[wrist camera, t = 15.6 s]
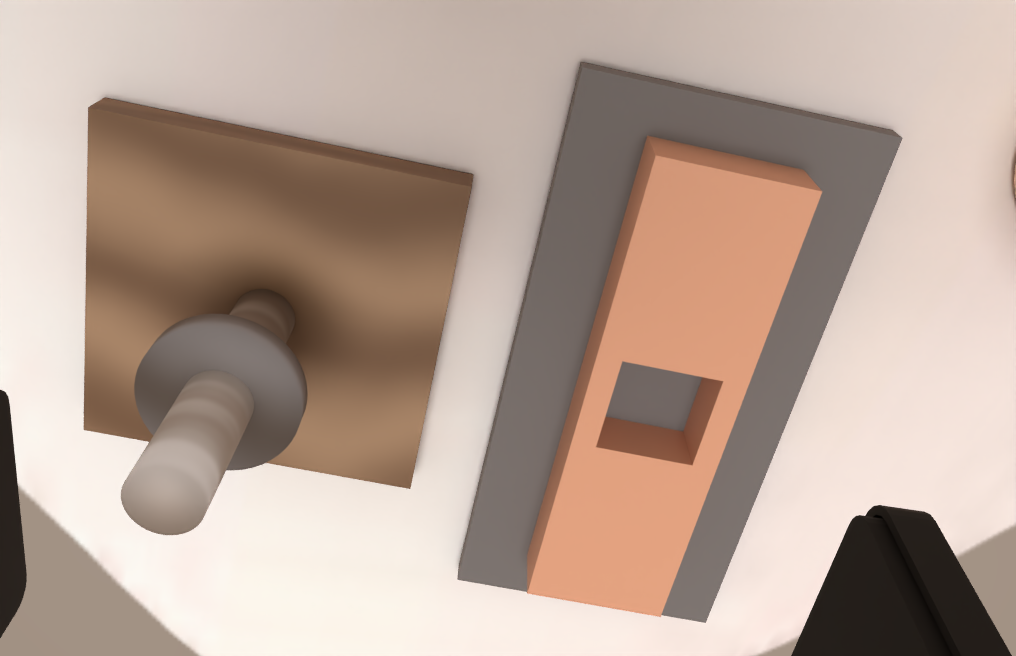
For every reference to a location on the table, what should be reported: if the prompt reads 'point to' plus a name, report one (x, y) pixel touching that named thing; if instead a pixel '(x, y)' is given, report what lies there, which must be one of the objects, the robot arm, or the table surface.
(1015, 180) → the teacup with lid
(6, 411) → the robot arm
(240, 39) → the table surface
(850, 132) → the mat
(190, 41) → the table surface
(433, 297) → the stand
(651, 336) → the link
